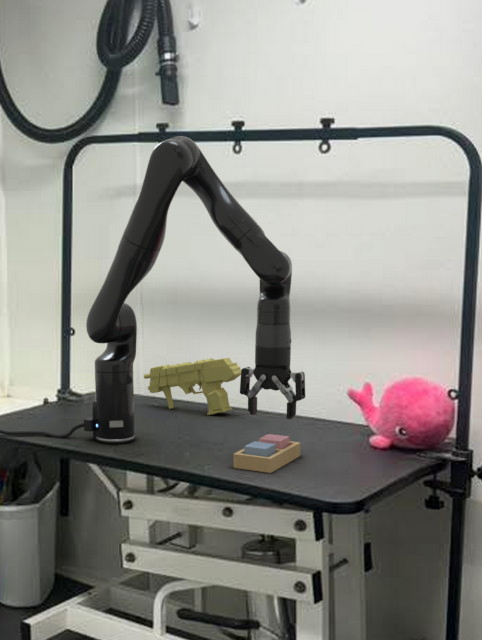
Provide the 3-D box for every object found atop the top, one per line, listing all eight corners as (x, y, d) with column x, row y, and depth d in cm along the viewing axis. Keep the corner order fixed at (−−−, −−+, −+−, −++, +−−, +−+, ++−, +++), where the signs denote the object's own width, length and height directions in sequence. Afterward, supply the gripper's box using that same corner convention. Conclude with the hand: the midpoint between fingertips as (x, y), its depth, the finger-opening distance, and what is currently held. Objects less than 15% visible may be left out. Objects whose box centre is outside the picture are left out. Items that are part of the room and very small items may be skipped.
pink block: (258, 456, 206) (258, 438, 206) (268, 451, 210) (268, 433, 210) (280, 459, 204) (280, 441, 203) (289, 454, 208) (289, 436, 207)
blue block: (244, 464, 200) (244, 446, 200) (254, 458, 204) (254, 441, 204) (265, 467, 198) (266, 448, 197) (275, 461, 201) (275, 443, 201)
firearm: (158, 419, 268) (148, 367, 268) (249, 407, 249) (238, 352, 248) (149, 422, 265) (139, 370, 264) (241, 410, 246) (230, 354, 245)
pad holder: (233, 467, 200) (233, 453, 200) (264, 451, 213) (264, 438, 212) (270, 473, 195) (270, 458, 195) (300, 456, 208) (300, 442, 207)
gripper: (235, 343, 204) (234, 416, 207) (297, 348, 196) (296, 423, 199) (249, 339, 210) (248, 409, 213) (311, 343, 202) (309, 416, 205)
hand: (271, 416), depth 206 cm, fingers open, 8 cm apart
